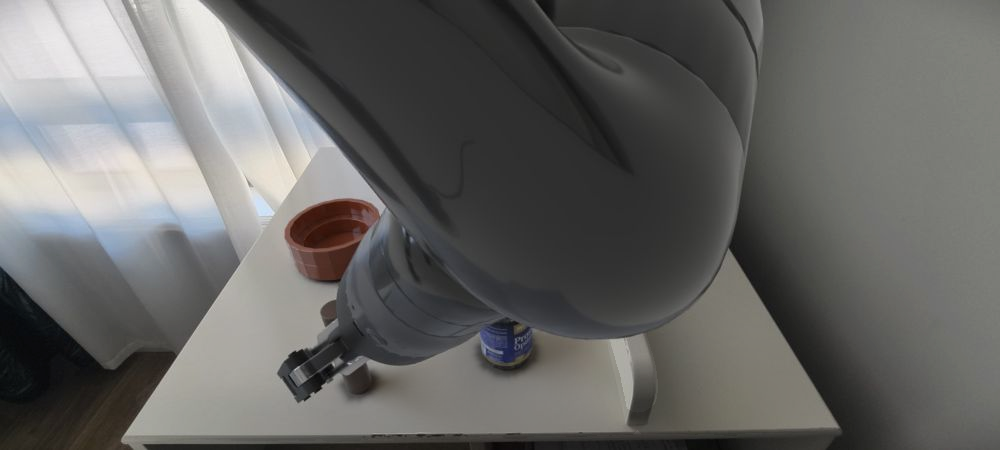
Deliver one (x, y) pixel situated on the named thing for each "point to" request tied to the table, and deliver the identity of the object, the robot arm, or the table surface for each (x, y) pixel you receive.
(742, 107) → the robot arm
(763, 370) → the table surface
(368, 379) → the stick
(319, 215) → the bowl
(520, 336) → the pill bottle
